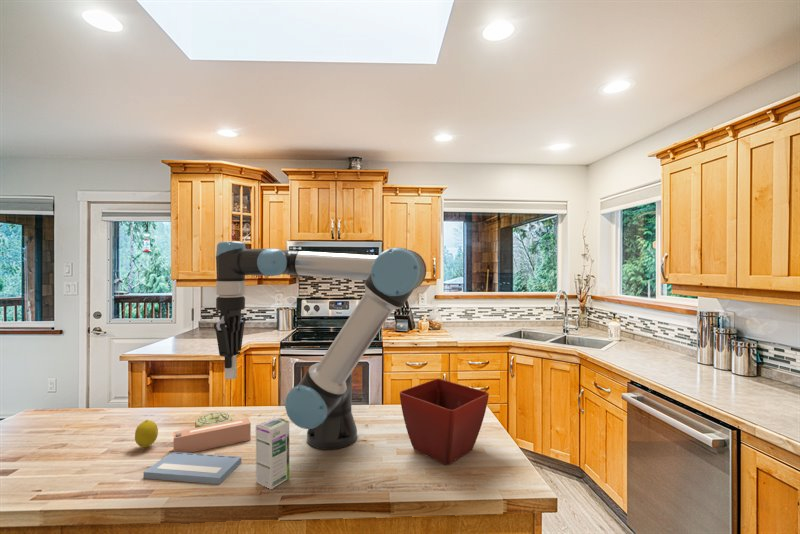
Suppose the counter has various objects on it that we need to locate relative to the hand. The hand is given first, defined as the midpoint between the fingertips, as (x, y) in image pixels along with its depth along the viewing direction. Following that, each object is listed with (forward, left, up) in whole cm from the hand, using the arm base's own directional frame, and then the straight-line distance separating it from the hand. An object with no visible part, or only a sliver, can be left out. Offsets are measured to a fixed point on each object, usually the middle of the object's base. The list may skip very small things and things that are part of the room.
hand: (230, 378), depth 108 cm
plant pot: (-61, -8, -21) cm, 65 cm away
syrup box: (-19, +13, -21) cm, 31 cm away
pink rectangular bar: (+7, -2, -21) cm, 22 cm away
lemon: (+24, +2, -21) cm, 32 cm away
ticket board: (+3, +11, -21) cm, 24 cm away
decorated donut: (+13, -13, -21) cm, 28 cm away
